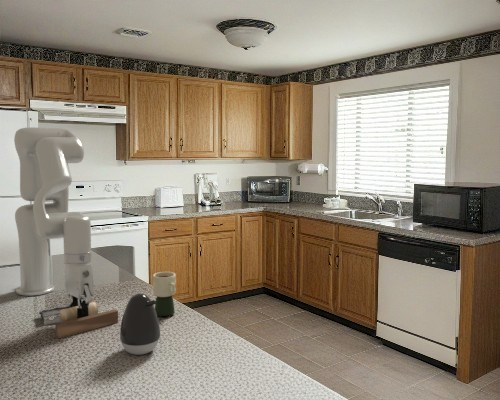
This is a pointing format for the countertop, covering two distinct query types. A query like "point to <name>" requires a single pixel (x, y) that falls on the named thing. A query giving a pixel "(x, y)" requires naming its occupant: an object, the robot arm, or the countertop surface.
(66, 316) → the roller
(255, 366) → the countertop surface
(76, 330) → the stop rail
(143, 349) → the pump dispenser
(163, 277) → the character mug
